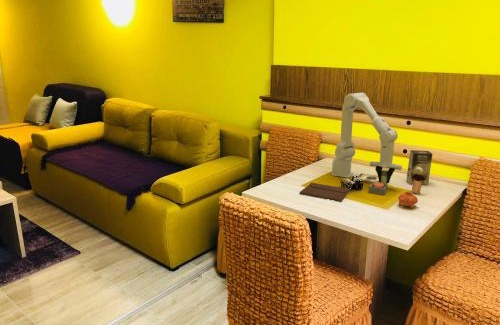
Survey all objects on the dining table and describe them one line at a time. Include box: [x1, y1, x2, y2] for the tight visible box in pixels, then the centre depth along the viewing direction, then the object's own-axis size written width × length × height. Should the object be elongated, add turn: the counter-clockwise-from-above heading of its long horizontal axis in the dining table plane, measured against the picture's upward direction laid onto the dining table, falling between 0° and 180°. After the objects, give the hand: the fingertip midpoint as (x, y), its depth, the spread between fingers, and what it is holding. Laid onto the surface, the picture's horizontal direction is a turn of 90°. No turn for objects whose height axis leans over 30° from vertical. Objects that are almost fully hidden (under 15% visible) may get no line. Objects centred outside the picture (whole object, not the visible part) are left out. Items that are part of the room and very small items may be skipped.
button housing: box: [368, 183, 389, 196], centre depth 192 cm, size 7×7×3 cm
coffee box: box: [405, 149, 433, 186], centre depth 202 cm, size 9×6×16 cm
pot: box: [397, 191, 419, 209], centre depth 174 cm, size 8×8×7 cm
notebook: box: [299, 182, 352, 203], centre depth 191 cm, size 15×20×2 cm
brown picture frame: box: [357, 172, 379, 185], centre depth 209 cm, size 14×12×1 cm
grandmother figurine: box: [409, 167, 427, 195], centre depth 189 cm, size 8×4×13 cm, turn 62°
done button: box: [374, 182, 384, 188], centre depth 191 cm, size 4×4×2 cm
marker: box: [381, 169, 388, 185], centre depth 196 cm, size 3×3×8 cm
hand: (384, 182), depth 197 cm, fingers closed on marker, 3 cm apart
